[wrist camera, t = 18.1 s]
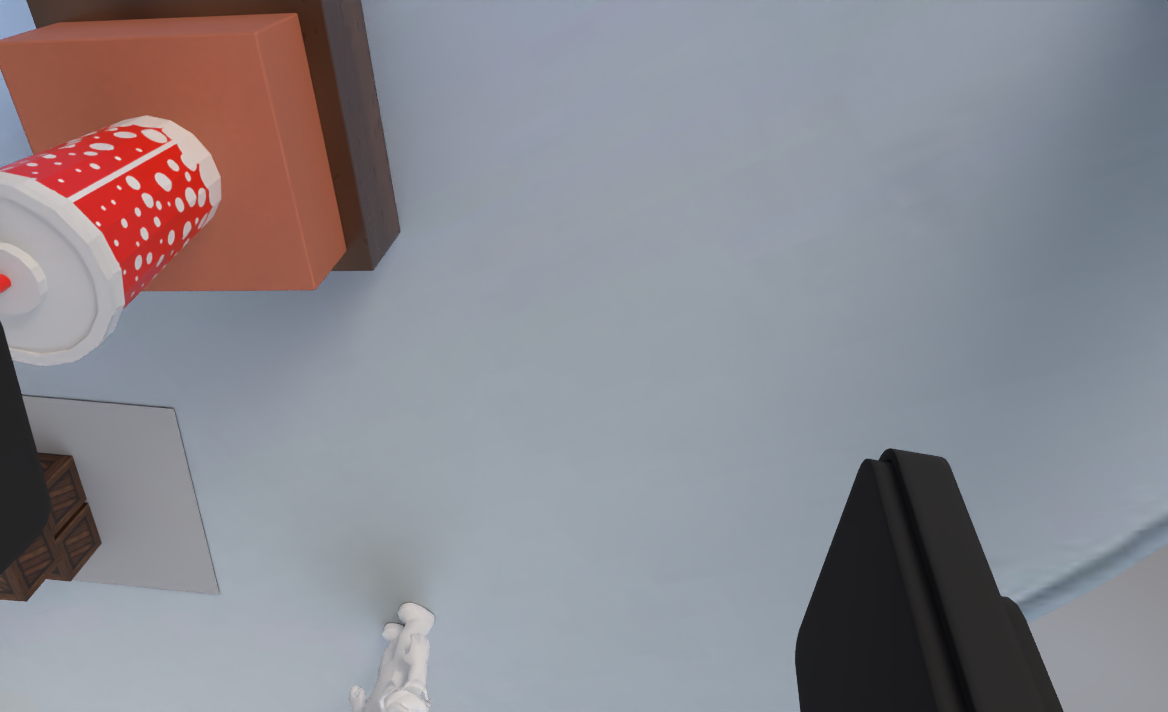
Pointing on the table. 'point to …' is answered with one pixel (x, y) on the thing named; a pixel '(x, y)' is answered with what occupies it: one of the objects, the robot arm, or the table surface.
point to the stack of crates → (112, 501)
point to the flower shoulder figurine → (400, 666)
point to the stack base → (339, 92)
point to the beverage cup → (95, 231)
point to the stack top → (201, 131)
